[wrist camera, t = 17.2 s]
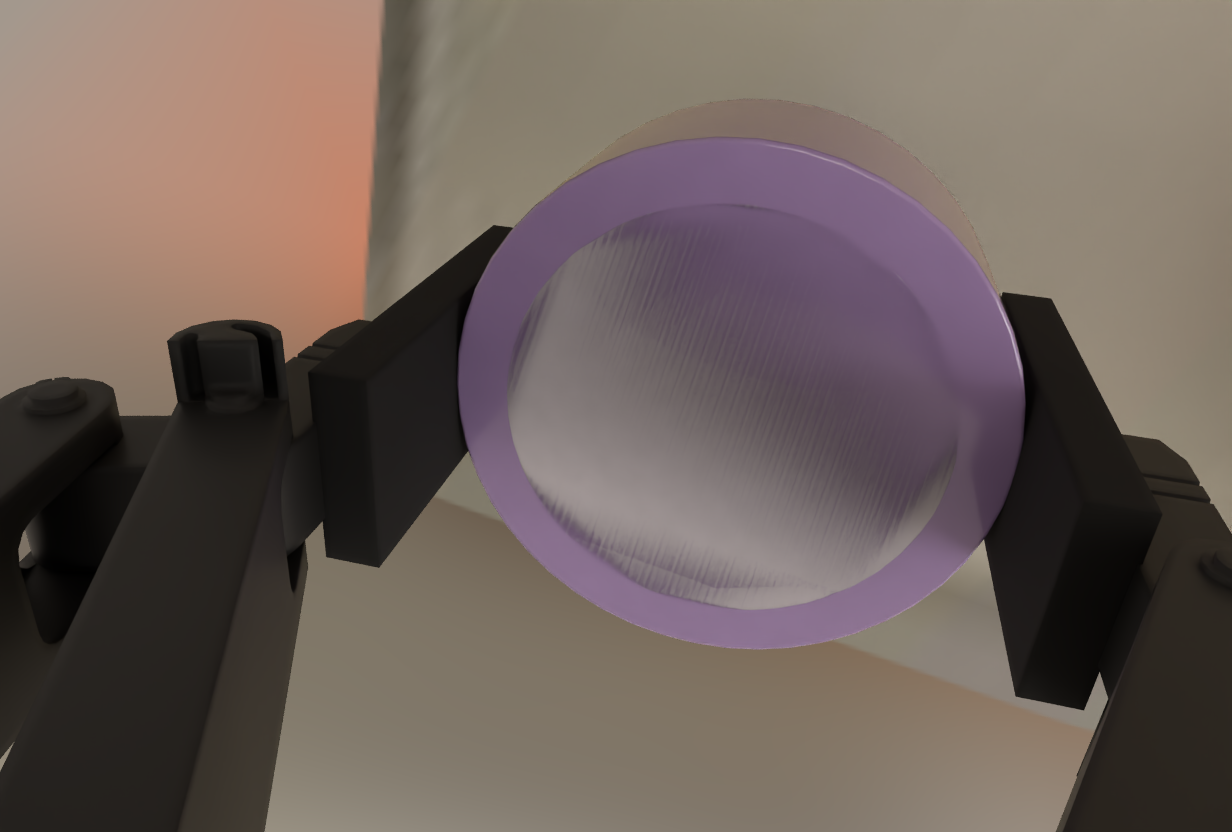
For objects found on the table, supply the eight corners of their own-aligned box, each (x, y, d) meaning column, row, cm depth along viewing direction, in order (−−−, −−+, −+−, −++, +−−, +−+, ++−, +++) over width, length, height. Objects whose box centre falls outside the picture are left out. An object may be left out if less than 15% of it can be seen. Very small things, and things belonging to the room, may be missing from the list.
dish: (531, 478, 19) (459, 596, 16) (541, 67, 16) (449, 105, 12) (932, 549, 18) (949, 697, 14) (1048, 118, 14) (1109, 176, 11)
